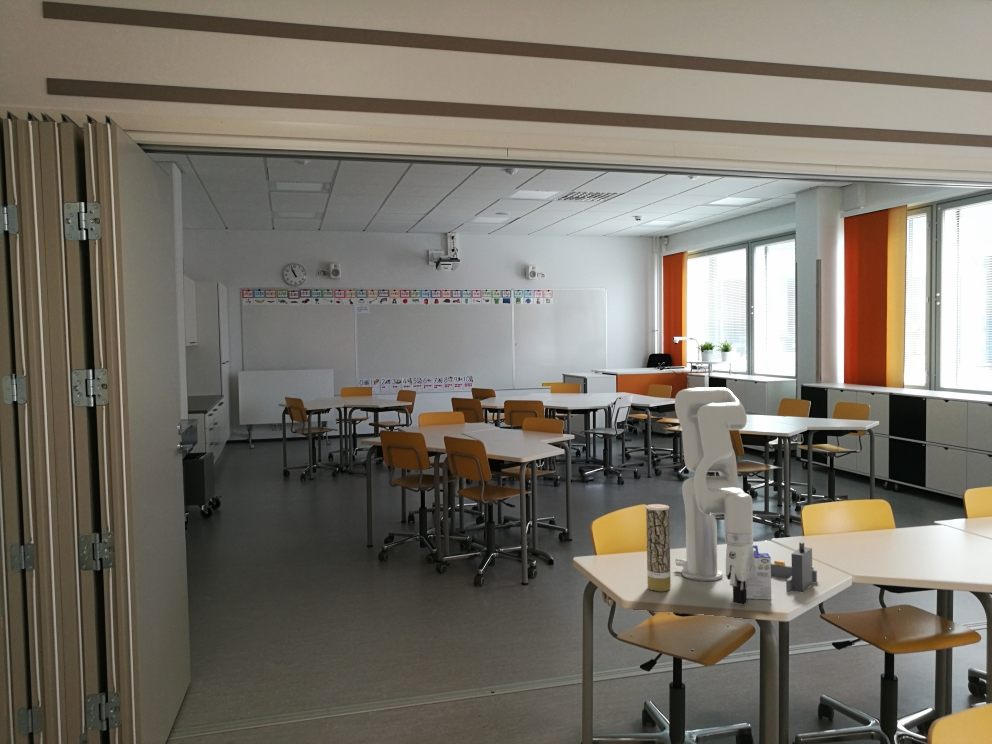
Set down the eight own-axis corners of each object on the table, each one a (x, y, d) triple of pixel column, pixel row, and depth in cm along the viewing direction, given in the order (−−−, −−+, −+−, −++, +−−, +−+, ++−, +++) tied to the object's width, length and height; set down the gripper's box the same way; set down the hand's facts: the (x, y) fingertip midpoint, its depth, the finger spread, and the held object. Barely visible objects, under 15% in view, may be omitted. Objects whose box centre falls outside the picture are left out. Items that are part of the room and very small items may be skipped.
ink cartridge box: (769, 594, 209) (768, 544, 209) (772, 600, 204) (771, 549, 203) (733, 592, 211) (733, 543, 211) (736, 598, 206) (735, 548, 205)
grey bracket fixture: (739, 583, 219) (738, 539, 219) (756, 571, 231) (755, 530, 231) (802, 594, 208) (801, 548, 207) (817, 581, 219) (816, 538, 219)
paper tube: (666, 593, 211) (664, 509, 211) (644, 590, 215) (642, 507, 214) (673, 587, 217) (672, 505, 217) (652, 584, 220) (650, 503, 220)
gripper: (742, 545, 191) (743, 613, 191) (761, 534, 202) (762, 598, 203) (715, 541, 196) (716, 607, 196) (735, 530, 207) (736, 593, 207)
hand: (739, 602), depth 199 cm, fingers closed
